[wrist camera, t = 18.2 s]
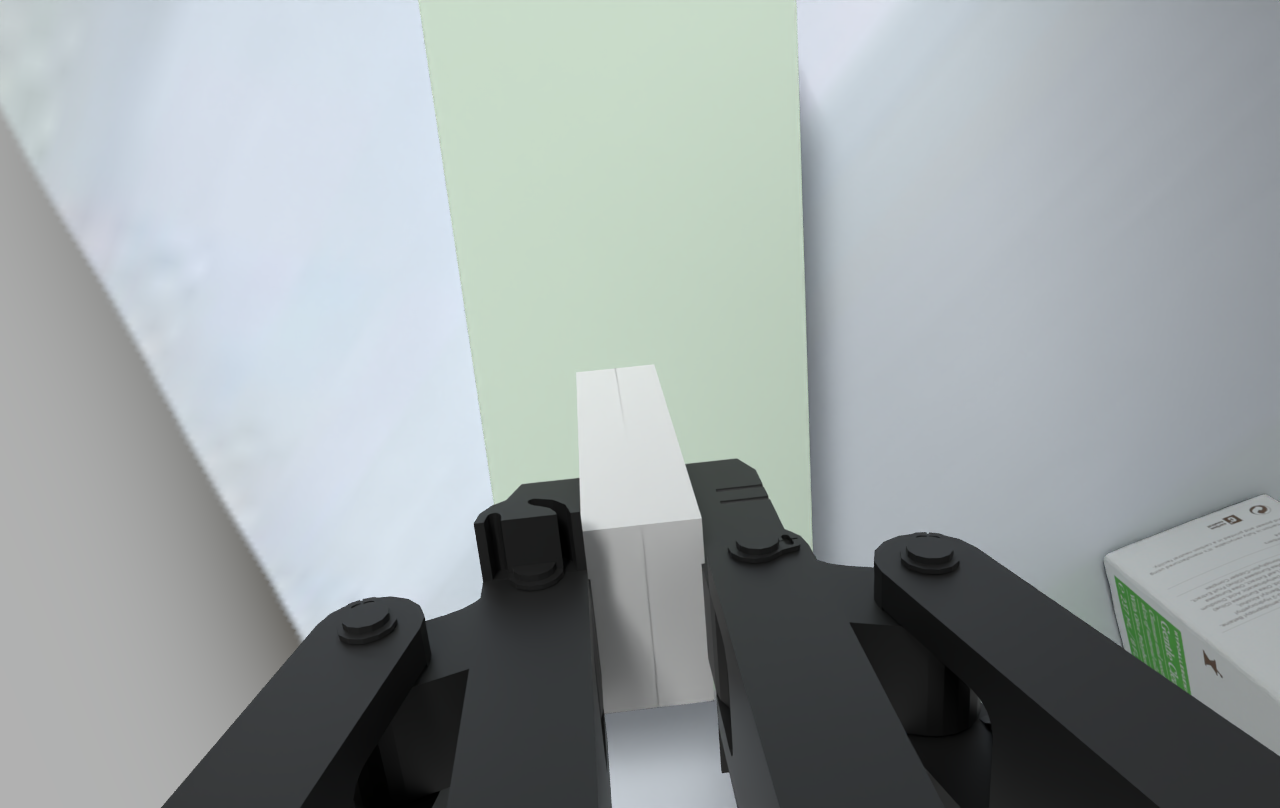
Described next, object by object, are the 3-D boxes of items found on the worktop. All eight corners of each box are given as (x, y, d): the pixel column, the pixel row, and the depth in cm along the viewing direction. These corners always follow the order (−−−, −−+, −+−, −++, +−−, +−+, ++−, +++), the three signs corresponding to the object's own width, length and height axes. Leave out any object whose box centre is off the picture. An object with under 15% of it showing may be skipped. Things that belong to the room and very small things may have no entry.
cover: (415, -40, 21) (411, -45, 20) (784, -68, 22) (794, -74, 21) (526, 701, 27) (526, 718, 26) (808, 660, 28) (816, 675, 27)
